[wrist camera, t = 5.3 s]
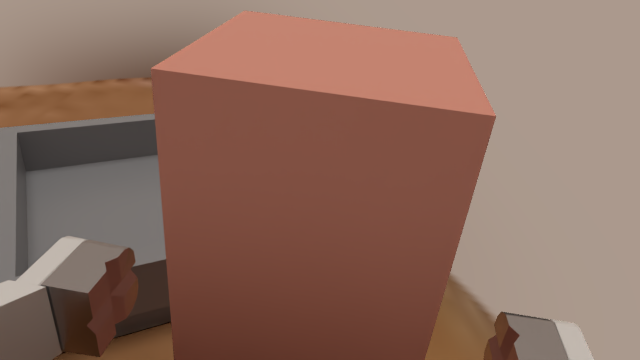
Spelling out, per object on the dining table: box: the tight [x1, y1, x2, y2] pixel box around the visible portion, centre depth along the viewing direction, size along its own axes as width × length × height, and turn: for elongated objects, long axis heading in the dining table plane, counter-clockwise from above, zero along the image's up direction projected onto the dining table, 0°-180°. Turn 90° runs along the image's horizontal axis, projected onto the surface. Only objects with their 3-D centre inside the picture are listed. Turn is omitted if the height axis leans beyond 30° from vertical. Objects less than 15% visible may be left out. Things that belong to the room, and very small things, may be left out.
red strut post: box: [151, 11, 496, 360], centre depth 11 cm, size 5×5×12 cm
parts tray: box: [0, 114, 171, 352], centre depth 23 cm, size 13×13×3 cm
